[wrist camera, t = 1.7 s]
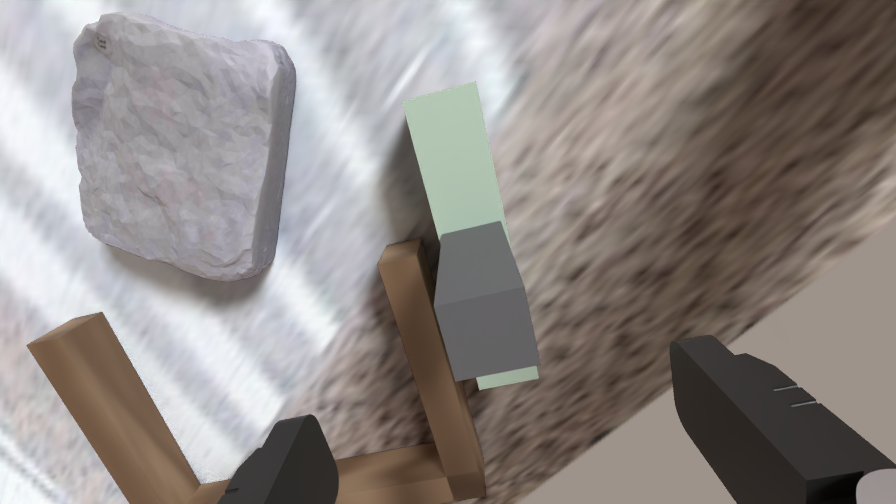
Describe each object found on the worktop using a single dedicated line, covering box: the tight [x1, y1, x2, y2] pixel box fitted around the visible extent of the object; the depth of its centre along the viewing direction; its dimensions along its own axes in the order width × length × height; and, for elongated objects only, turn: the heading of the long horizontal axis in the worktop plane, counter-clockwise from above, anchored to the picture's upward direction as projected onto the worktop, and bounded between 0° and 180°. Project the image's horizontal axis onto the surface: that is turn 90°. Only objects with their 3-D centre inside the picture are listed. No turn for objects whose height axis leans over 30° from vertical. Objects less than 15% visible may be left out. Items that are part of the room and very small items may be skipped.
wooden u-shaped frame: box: [26, 238, 486, 504], centre depth 26 cm, size 22×16×3 cm
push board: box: [402, 81, 541, 390], centre depth 18 cm, size 14×3×12 cm, turn 14°
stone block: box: [72, 13, 296, 282], centre depth 22 cm, size 12×5×10 cm
